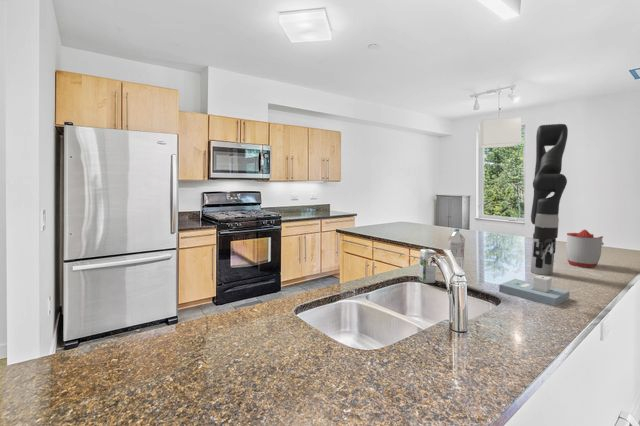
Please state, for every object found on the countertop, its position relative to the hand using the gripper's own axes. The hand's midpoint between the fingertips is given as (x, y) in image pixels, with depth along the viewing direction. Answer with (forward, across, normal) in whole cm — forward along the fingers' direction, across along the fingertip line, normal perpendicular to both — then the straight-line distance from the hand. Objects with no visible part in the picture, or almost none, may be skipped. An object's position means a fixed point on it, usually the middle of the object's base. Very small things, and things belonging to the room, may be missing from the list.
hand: (543, 266), depth 129 cm
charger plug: (+13, 0, 0) cm, 13 cm away
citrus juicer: (+14, -76, -8) cm, 77 cm away
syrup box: (+13, +20, -39) cm, 46 cm away
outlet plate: (+13, 0, -3) cm, 13 cm away
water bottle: (+13, +14, -29) cm, 35 cm away
